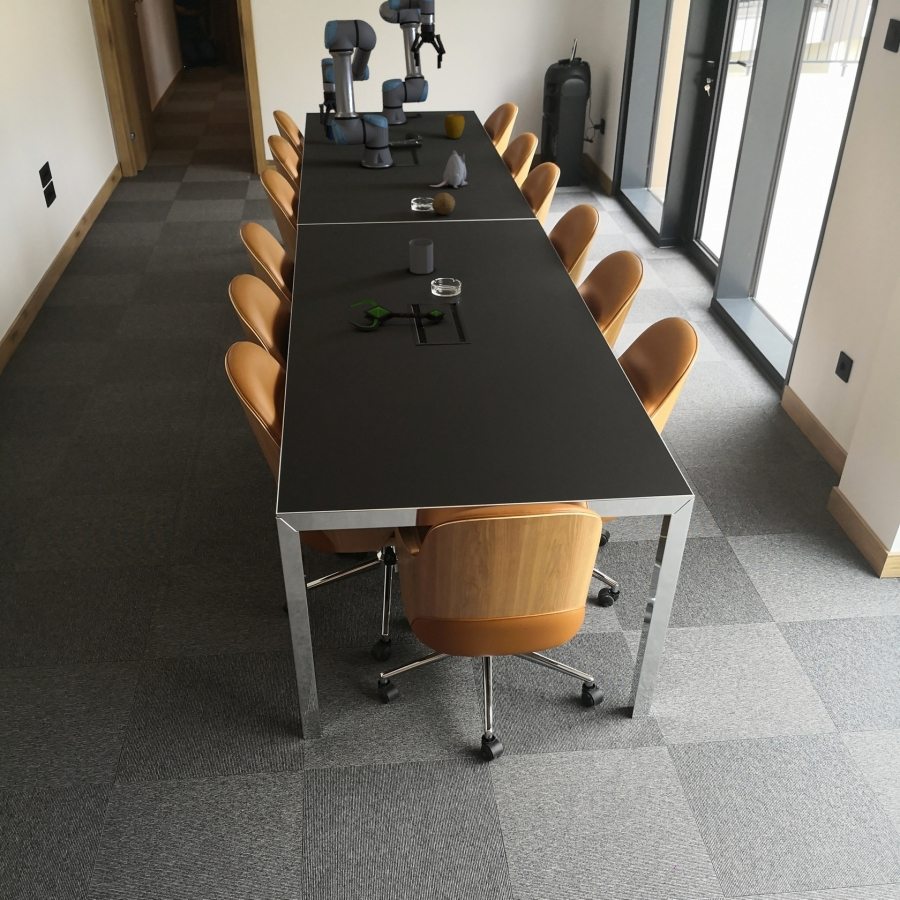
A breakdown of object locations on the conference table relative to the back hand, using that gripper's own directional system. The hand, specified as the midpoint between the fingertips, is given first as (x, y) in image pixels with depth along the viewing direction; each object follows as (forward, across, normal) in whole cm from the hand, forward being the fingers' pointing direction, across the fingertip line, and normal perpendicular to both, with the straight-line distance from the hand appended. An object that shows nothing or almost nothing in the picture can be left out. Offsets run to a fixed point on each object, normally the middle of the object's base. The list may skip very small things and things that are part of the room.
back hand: (428, 67), depth 464 cm
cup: (+35, +101, -182) cm, 211 cm away
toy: (+35, +60, -88) cm, 112 cm away
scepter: (+35, +117, -224) cm, 255 cm away
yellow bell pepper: (+35, +17, -1) cm, 39 cm away
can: (+32, -33, -44) cm, 64 cm away
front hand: (+31, -33, -44) cm, 63 cm away
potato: (+35, +76, -121) cm, 147 cm away
